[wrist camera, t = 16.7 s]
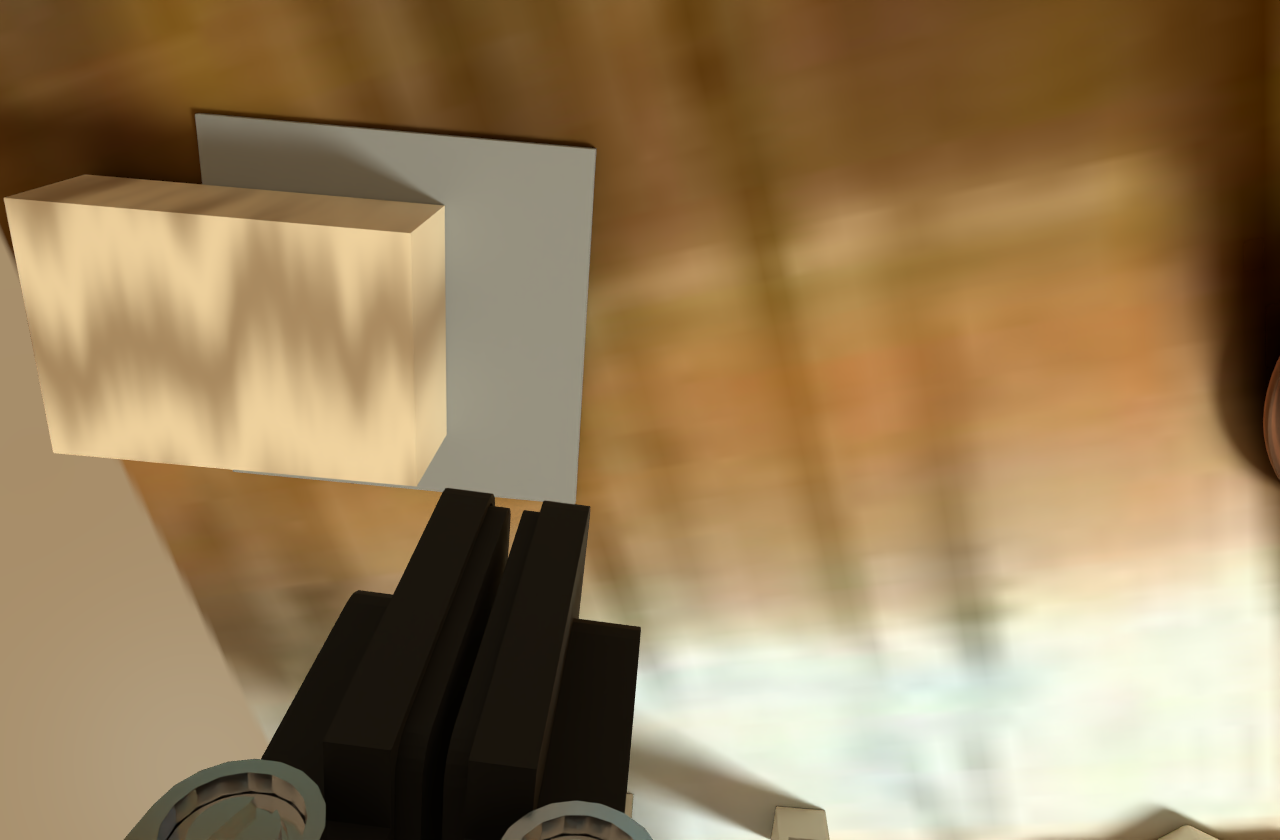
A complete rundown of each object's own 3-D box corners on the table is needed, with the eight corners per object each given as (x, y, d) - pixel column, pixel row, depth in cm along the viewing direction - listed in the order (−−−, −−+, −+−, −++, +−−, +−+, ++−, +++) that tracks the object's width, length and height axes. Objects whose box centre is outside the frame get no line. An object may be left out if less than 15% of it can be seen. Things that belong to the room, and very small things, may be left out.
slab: (445, 205, 34) (86, 174, 34) (410, 233, 30) (3, 197, 30) (447, 433, 38) (122, 404, 38) (416, 486, 34) (53, 452, 34)
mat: (198, 112, 34) (194, 113, 33) (596, 148, 33) (595, 149, 33) (236, 468, 39) (233, 471, 39) (575, 501, 39) (574, 504, 39)
